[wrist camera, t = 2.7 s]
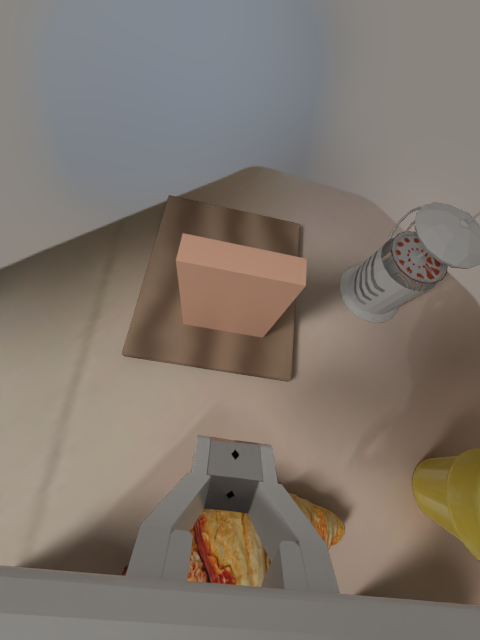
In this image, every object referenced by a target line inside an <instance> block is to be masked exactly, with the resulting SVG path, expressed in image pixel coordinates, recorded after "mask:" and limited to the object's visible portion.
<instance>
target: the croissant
mask: <svg viewBox="0 0 480 640" xmlns="http://www.w3.org/2000/svg"><path fill="white" fill-rule="evenodd" d="M289 495H290V496H291V497H292V499H293V500H294V501H295V503H296V504H297V505H298V507H299V508H300V509H301V511H302V512H303V513H304V515H305V516H306V517H307V519H308V520H309V521H310V523H311V524H312V525H313V527H314V528H315V529H316V531H317V532H318V533H319V535H320V536H321V537H322V539H323V540H324V541H325V543H326V544H327V548H328V550H329V548H330V546H332V545H335V544H338V543H339V542H340V540H341V539H342V537H343V536H344V534H345V526H344V523H343V522H342V520H341V519H340V518H339V517H338V516H336V515H335V514H334V513H332V512H331V511H330V510H328V509H327V508H324V507H320V506H318V505H315V504H313V503H311V502H310V501H308V500H306V499H302V498H299V497H298V496H296V495H295V494H290V493H289ZM189 532H190V533H191V534H192V536H193V538H192V546H191V555H190V563H189V572H188V580H187V581H194V582H206V583H218V584H230V585H242V586H254V587H261V584H262V581H263V579H264V577H265V575H266V573H267V571H268V569H269V566H270V564H271V561H270V559H269V557H268V555H267V553H266V551H265V549H264V547H263V545H262V542H261V540H260V538H259V536H258V534H257V532H256V530H255V528H254V526H253V524H252V522H251V520H250V518H249V516H248V514H247V513H240V512H233V511H225V510H213V509H203V511H202V513H201V514H200V516H199V517H198V519H197V520H196V522H195V523H194V525H193V526H192V528H191V529H190V531H189ZM128 566H129V564H128V565H127V566H126V567H125V568H124V570H123V573H122V576H126V572H127V569H128Z"/></svg>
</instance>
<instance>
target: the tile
mask: <svg viewBox="0 0 480 640" xmlns="http://www.w3.org/2000/svg"><path fill="white" fill-rule="evenodd" d="M176 266H177V275H178V283H179V292H180V300H181V309H182V317H183V324H186V325H192V326H198V327H203V328H209V329H215V330H221V331H227V332H233V333H239V334H244V335H250V336H256V337H262V338H263V337H264V336H265V334H266V333H267V332H268V331H269V330H270V328H271V327H272V326H273V325H274V324H275V322H276V321H277V320H278V319H279V318H280V316H281V315H282V314H283V313H284V312H285V310H286V309H287V308H288V307H289V306H290V304H291V303H292V302H293V301H294V300H295V298H296V297H297V296H298V295H299V294H300V292H301V291H302V290H303V289H304V288H305V286H306V269H307V259H306V258H301V257H296V256H291V255H286V254H281V253H277V252H272V251H267V250H262V249H257V248H252V247H247V246H243V245H238V244H233V243H228V242H223V241H218V240H214V239H209V238H204V237H199V236H194V235H189V234H185V233H183V234H182V238H181V242H180V246H179V250H178V254H177V258H176Z"/></svg>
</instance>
